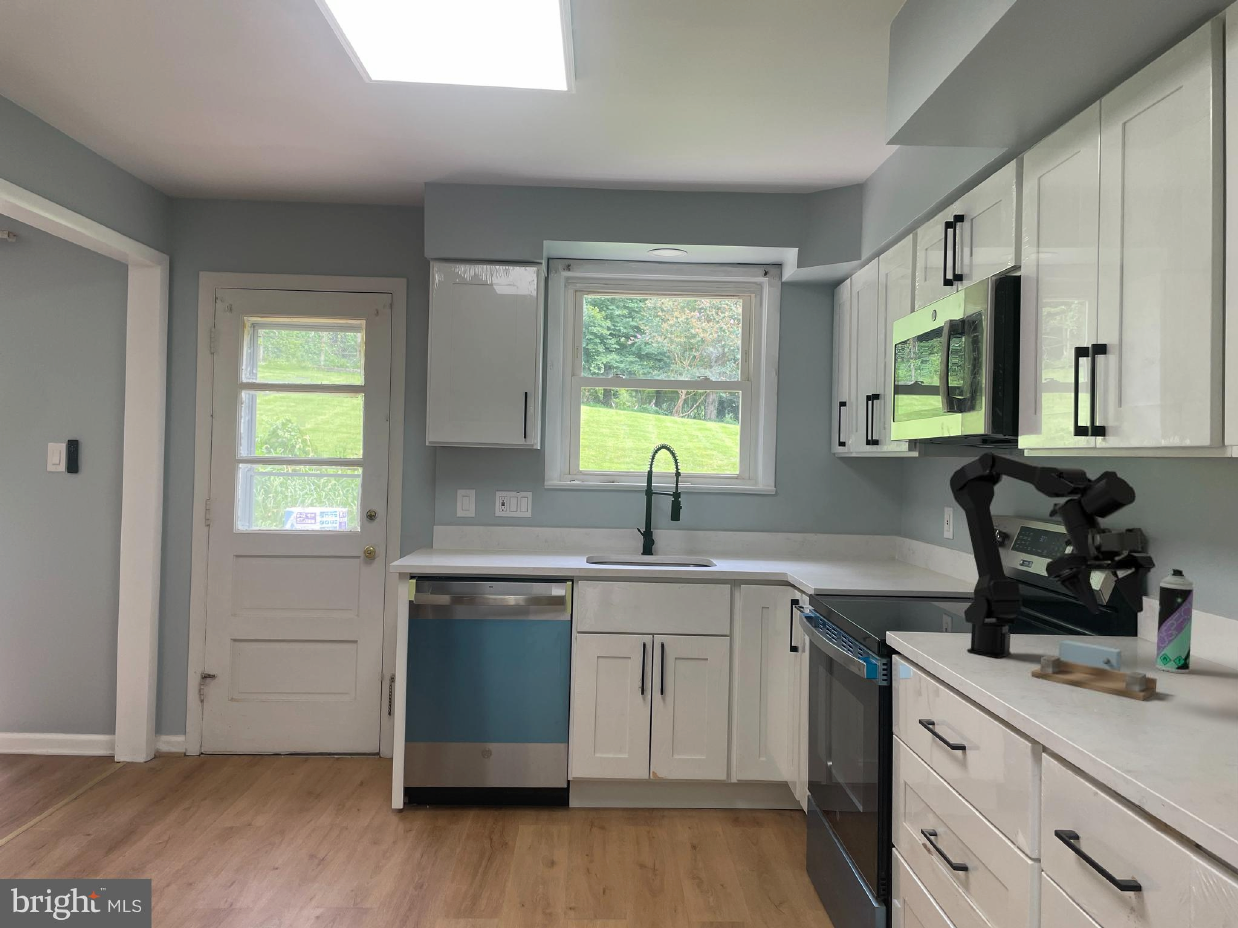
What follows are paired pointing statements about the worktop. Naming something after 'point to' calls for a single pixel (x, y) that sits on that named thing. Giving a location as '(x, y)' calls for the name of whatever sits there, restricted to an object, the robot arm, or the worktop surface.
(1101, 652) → the door panel
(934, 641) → the worktop surface
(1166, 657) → the spray can
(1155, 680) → the rail
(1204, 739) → the worktop surface
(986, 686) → the worktop surface
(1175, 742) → the worktop surface
